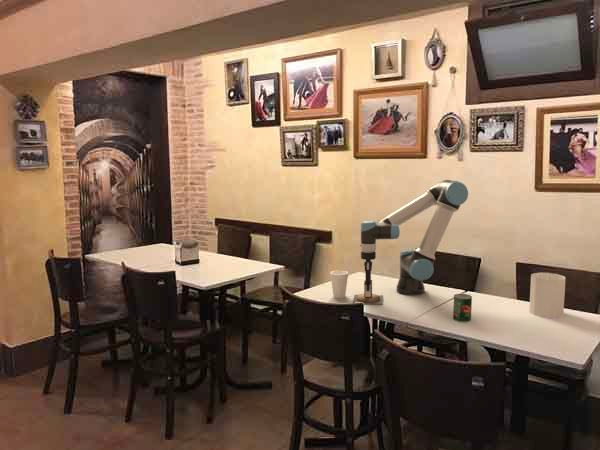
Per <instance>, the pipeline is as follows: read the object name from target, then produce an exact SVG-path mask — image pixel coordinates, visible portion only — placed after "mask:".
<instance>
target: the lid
mask: <svg viewBox="0 0 600 450" xmlns="http://www.w3.org/2000/svg"><path fill="white" fill-rule="evenodd" d="M363 281H364V283H365V282H366V279H364V280H363ZM364 283H363V286H364V287H363V288H364V289H363V291H364V292H363V293H361V294H356V295H357V300H358V301H361V302H377V301H379V300H380V296H378V295H379V294H376V293H373V280H372V279H371V280H370V283H371V297H365V285H364Z"/></svg>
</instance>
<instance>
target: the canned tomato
mask: <svg viewBox="0 0 600 450" xmlns="http://www.w3.org/2000/svg"><path fill="white" fill-rule="evenodd" d="M472 299H473V296H472V295H471V294H468V293H455V294H454V295H453V311H452V312H453V313H452V314H453V315H452V316H453V317H452V319H453V321H454V322H455V321H456V322H458V323H469V322H471V321H472V303H473V302H472V301H473V300H472Z"/></svg>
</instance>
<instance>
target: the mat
mask: <svg viewBox="0 0 600 450" xmlns="http://www.w3.org/2000/svg"><path fill="white" fill-rule="evenodd" d="M357 295H358V294H354V295H353V299H352V300H353V301H352V304H353V303H355V302H361V301H358V300H357ZM377 295H378V296H380V300H379V301H377V302H363V303H364V304H363V305H374V306H376V305H377V306H378V305H379V306H383V305H384V304H383V303H384V302H383V301H384V296H383V295H379V294H377Z"/></svg>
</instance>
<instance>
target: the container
mask: <svg viewBox="0 0 600 450" xmlns="http://www.w3.org/2000/svg"><path fill="white" fill-rule="evenodd" d="M565 292H566V276H564V275H561V274H558V273H551V272H534V273H531V274H530V291H529V293H530V294H529V314H531V315H533V316H536V317H541V318H546V319H559V318H562V317H563V316H564V313H565V312H564V310H565V297H566V295H565Z"/></svg>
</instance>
